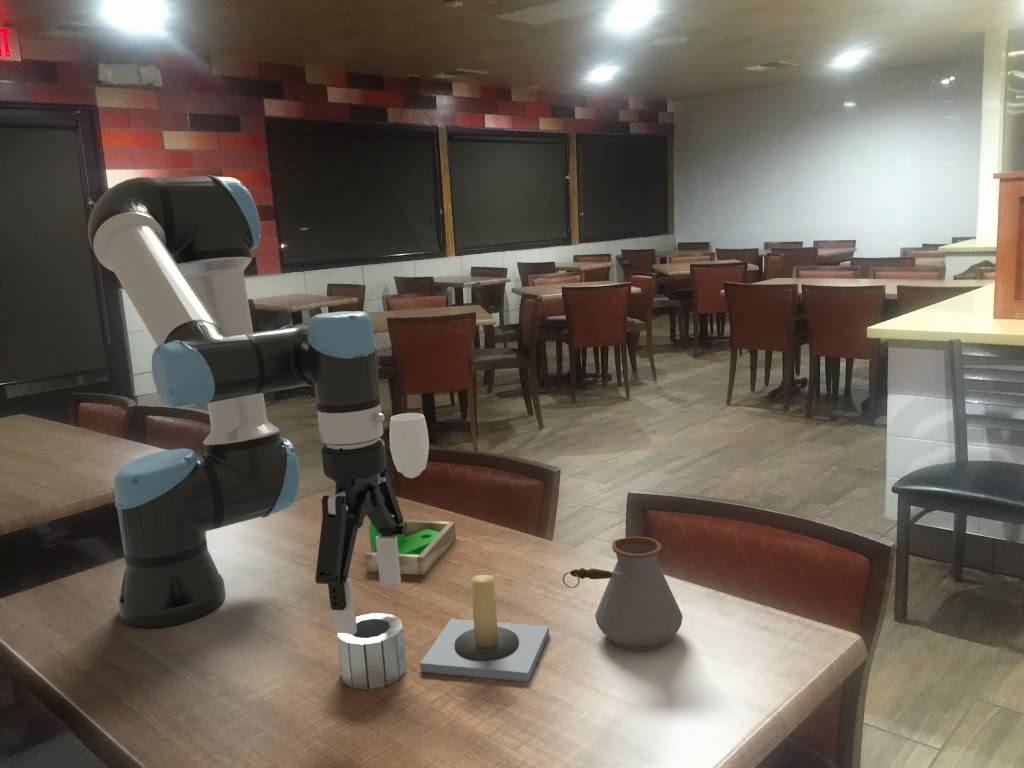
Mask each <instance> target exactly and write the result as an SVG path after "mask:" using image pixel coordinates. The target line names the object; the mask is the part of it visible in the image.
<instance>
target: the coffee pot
mask: <svg viewBox="0 0 1024 768" xmlns="http://www.w3.org/2000/svg"><path fill="white" fill-rule="evenodd" d="M611 544H612V545H611V548H612V551H613V552H614V553H615V554H616V558H617V562H616V563H615V566H614V567H613V571H609V570H603V569H598V568H588V569H586V568H584V567H581V568H579V569H577V568H575V569H572V570H571V571H569V572H566V573H564V574H563V577H562V582H563V584H564V586H566V587H567V588H568V589H573V588H576V587H578V586H579V584H580V582H581V580H583V579H586V578H587V579H590V580H600V579H601V580H602V579H604V580H605V579H609V581H608V583H607V585H606V588H605V590H604V592H603V595H602V597H601V599H600V602H599V604H598V607H597V609H596V611H595V615H594V617H595V621H596V625H597V626H598V628H599V629H600V631H601V633H602V634H604V635H605V636H606V637H607V638H608V639H610V640H611V641H612V643H613V644H615V645H617V646H618V647H621V648H623V649H627V650H633V651H649V650H654V649H657V648H659V647H662V646H663V645H665V644H666V643H667V642H668V641H669V640H670V639H672V638H673V637H674V636H675V635H676V634H677V632H678V631H680V628H681V626H682V624H683V623H682V622H683V618H684V617H683V614H682V612H681V609H680V606H679V605H678V603H677V600H676V599H675V596H674V594H673V591H672V590H671V587H670V585H669V582H668V581H667V579H666V577H665V575H664V573H663V571H662V569H661V566H660V565H659V562H658V556H659V553H660V552H661V551H662V549H663V547H662V544H661V542H659V541H658V540H656V539H654V538H651V537H646V536H629V537H623V538H618V539H615V540H613V542H612V543H611ZM568 574H570V576H573V577H575V578H577V584H576V585H574V586H569V585H568V584H567V583H566V582H565V578H566V575H568ZM580 579H581V580H580Z"/></svg>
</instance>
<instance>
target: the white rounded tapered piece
mask: <svg viewBox="0 0 1024 768" xmlns="http://www.w3.org/2000/svg"><path fill="white" fill-rule="evenodd" d="M388 434H389V450H390V453H391V457H392V461H393V463H394V466H395V469H396V471H397V472H398V473H401V474H402V475H403V476H404V477H405V478H408V479H414V478H416V477H419V476H420V475H421V473H422V472H423V471H424V470H426V467H427V464H428V458H429V450H430V440H429V430H428V425H427V421H426V417H425V415H424V414H423V413H419V412H406V413H400V414H399V413H398V414H396V415H392V416H391V417H390V421H389V433H388Z"/></svg>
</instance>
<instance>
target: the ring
mask: <svg viewBox="0 0 1024 768" xmlns="http://www.w3.org/2000/svg"><path fill="white" fill-rule="evenodd" d="M356 625H357V632H356V633H355V634H345V633H336V634H337V643H338V653H339V655H338V656H339V662H340V665H339V666H340V674H341V681H342V683H344V684H345V685H347V686H349V687H350V688H353V689H357V690H367V691H368V690H373V689H374V690H375V689H380V688H385V687H386V686H387V687H388V686H390V685H392V684H393V683H396V682H397V681H399V680H400V679H401V678H402V677H403V675H405V672H406V671H407V665H406V652H405V651H406V650H405V641H404V640H405V639H404V638H405V637H404V627H403V624H402V620H401V619H400V618H399V617H397V616H396V615H393V614H389V613H379V612H375V613H374V612H373V613H372V612H371V613H369V614H368V613H367V614H362V615H361V614H360V615H359V616H356Z"/></svg>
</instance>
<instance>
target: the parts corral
mask: <svg viewBox="0 0 1024 768" xmlns="http://www.w3.org/2000/svg"><path fill="white" fill-rule="evenodd" d="M403 526H404V537H407V536H409V535H412V534H415V533H417V532H420V531H422V530H425V529H430V530H434V531H437V532H440V533H439V534H438V535H437V536H436V537H435V538H434V539H433V540H432V542H431V543H430V544H429V545H428V546H427V547H426V548H425V549H424V550H423V551H422V553H421V554H420V555H415V554H399V565H400V575H403V574H404V575H416V576H417V575H419V576H425V575H426V574H427V573H428V572H429V571H430V570H431V568H432V567H433V566H434V564H435V563H436V562H437V561H438V560H439V558H440V557H441V556H442V555H443V554H444V553H445V552H446V551H447V549H448V548H449V547H450V545H451V544H452V543H453V542H454V541H455V540H456V538H457V537H456V534H457V533H456V522H455V521H441V520H439V521H437V520H422V519H421V520H419V519H417V520H416V519H415V520H414V519H403ZM365 560H366V561H365V562H366V563H365V564H366V572H370V573H379V568H378V558H377V548H376V546H374V547H373V548H372V549H370V550H369V551H367V552H366V554H365Z"/></svg>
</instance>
